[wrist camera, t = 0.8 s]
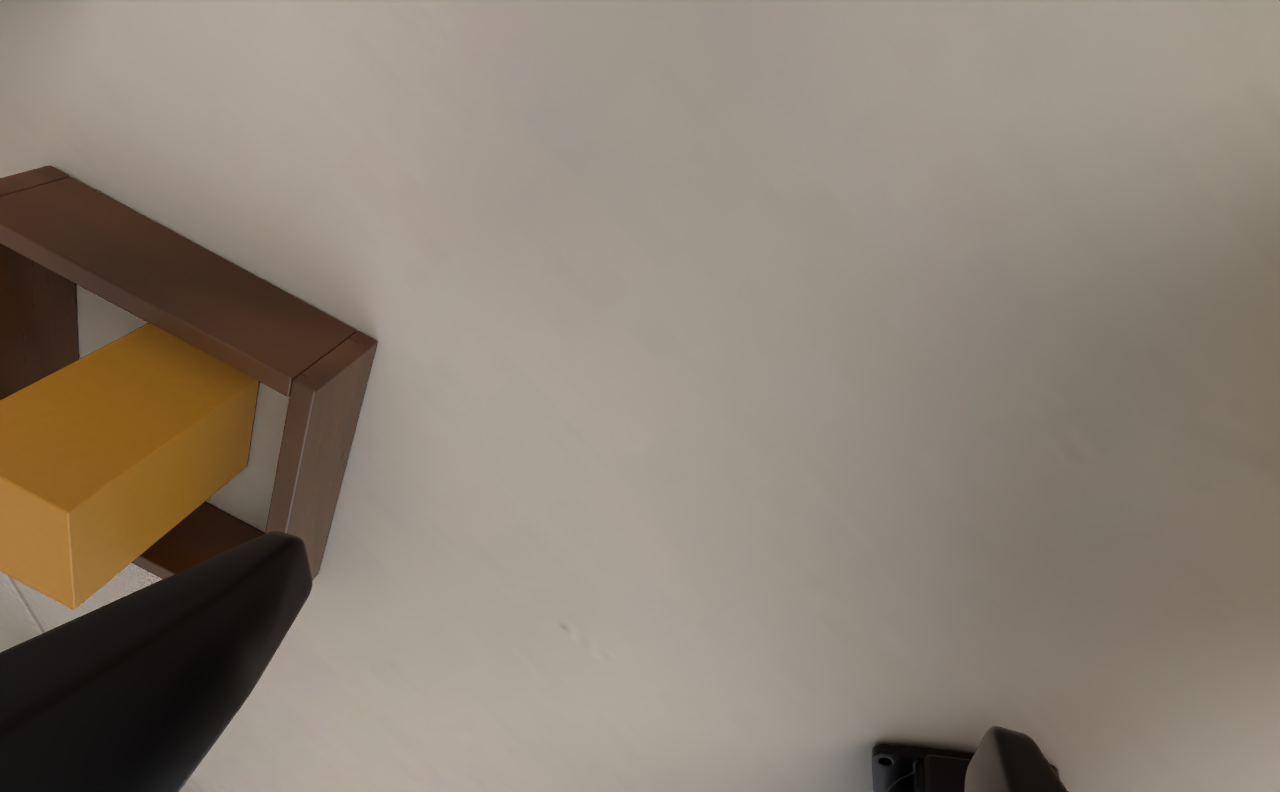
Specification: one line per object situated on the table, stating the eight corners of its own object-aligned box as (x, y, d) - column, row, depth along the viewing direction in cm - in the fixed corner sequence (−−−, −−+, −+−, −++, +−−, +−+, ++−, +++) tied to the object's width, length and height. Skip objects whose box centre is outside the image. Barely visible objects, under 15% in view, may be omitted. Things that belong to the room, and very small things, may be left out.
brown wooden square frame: (378, 340, 25) (315, 391, 22) (318, 573, 33) (265, 634, 30) (49, 164, 25) (-58, 192, 22) (67, 440, 32) (-11, 488, 30)
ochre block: (260, 377, 27) (66, 513, 21) (247, 466, 30) (73, 611, 24) (153, 320, 27) (-75, 438, 21) (150, 415, 30) (-52, 545, 24)
